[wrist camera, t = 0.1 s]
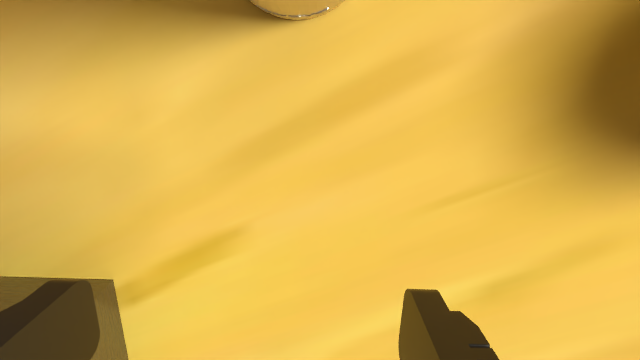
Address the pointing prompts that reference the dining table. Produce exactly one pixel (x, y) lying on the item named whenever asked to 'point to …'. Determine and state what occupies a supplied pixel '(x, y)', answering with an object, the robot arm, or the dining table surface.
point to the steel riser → (111, 344)
